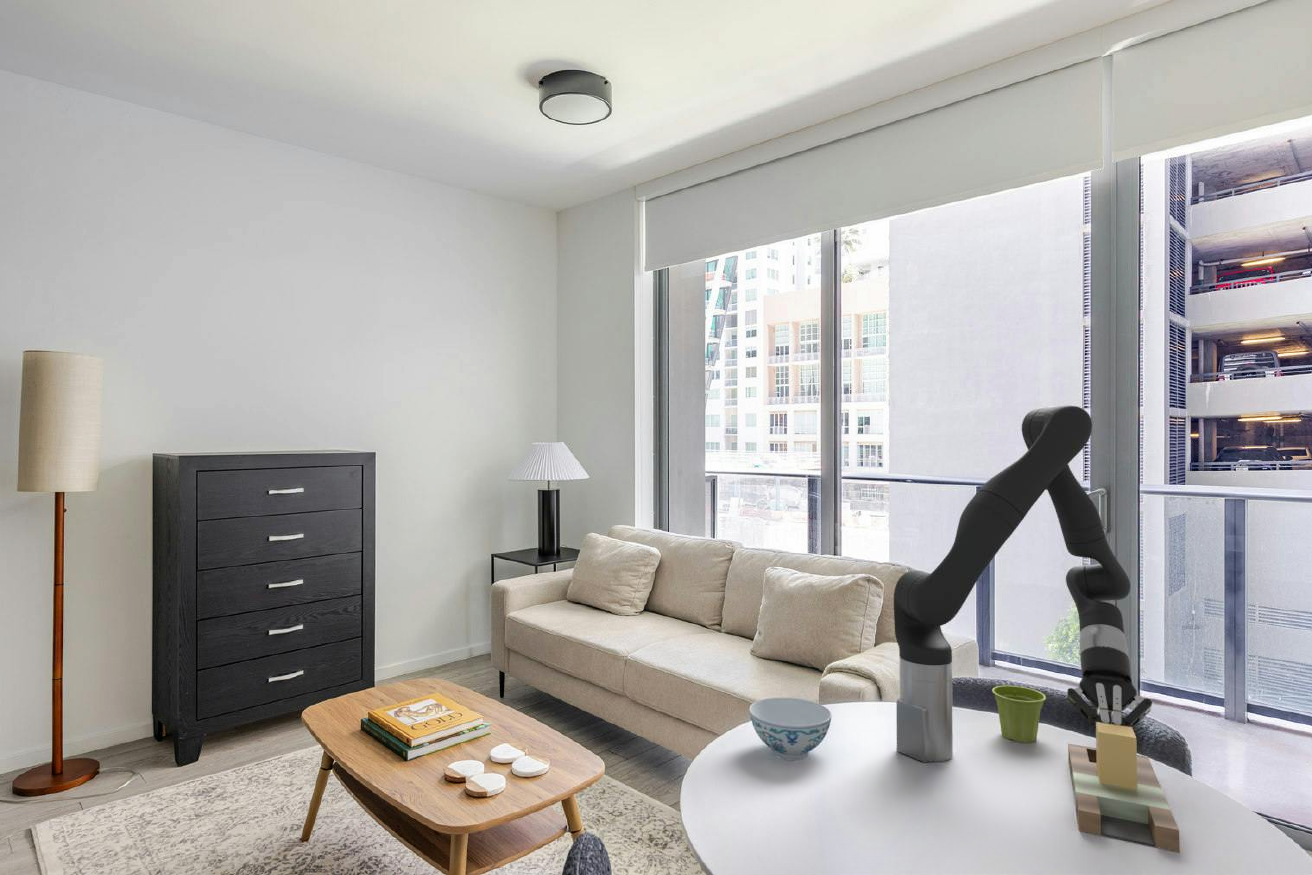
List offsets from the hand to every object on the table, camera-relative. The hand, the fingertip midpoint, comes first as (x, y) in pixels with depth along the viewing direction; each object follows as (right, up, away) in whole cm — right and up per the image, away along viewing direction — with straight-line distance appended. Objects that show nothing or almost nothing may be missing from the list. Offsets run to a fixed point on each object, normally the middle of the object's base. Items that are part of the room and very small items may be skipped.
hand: (1113, 748), depth 116 cm
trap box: (-2, -7, -3) cm, 8 cm away
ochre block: (-1, -4, -3) cm, 5 cm away
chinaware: (-51, -7, +14) cm, 53 cm away
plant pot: (-4, -8, +22) cm, 24 cm away
